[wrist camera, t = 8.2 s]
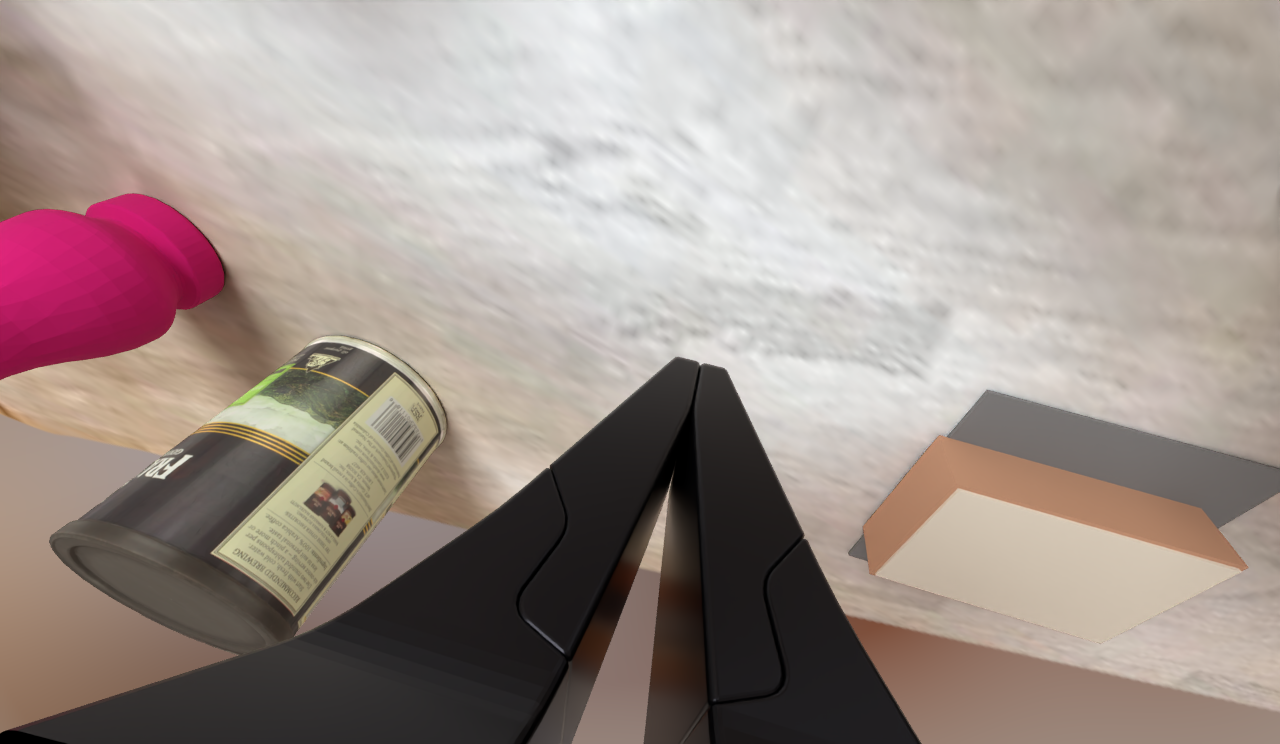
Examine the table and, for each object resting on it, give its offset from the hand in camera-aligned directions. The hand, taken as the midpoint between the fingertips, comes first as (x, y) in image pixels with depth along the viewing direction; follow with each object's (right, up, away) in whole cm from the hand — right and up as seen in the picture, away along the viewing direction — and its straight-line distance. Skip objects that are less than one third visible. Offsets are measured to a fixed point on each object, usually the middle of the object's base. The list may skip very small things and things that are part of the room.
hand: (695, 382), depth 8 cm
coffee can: (-18, -2, +24) cm, 30 cm away
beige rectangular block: (+12, -7, +17) cm, 22 cm away
